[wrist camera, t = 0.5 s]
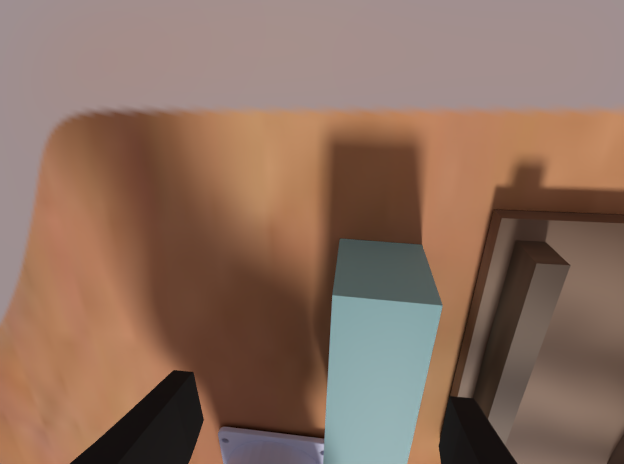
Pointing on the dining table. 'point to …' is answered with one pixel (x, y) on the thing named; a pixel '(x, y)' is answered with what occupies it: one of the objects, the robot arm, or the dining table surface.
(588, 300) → the cradle
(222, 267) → the dining table surface
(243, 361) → the dining table surface
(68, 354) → the dining table surface
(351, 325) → the tall teal pillar block
